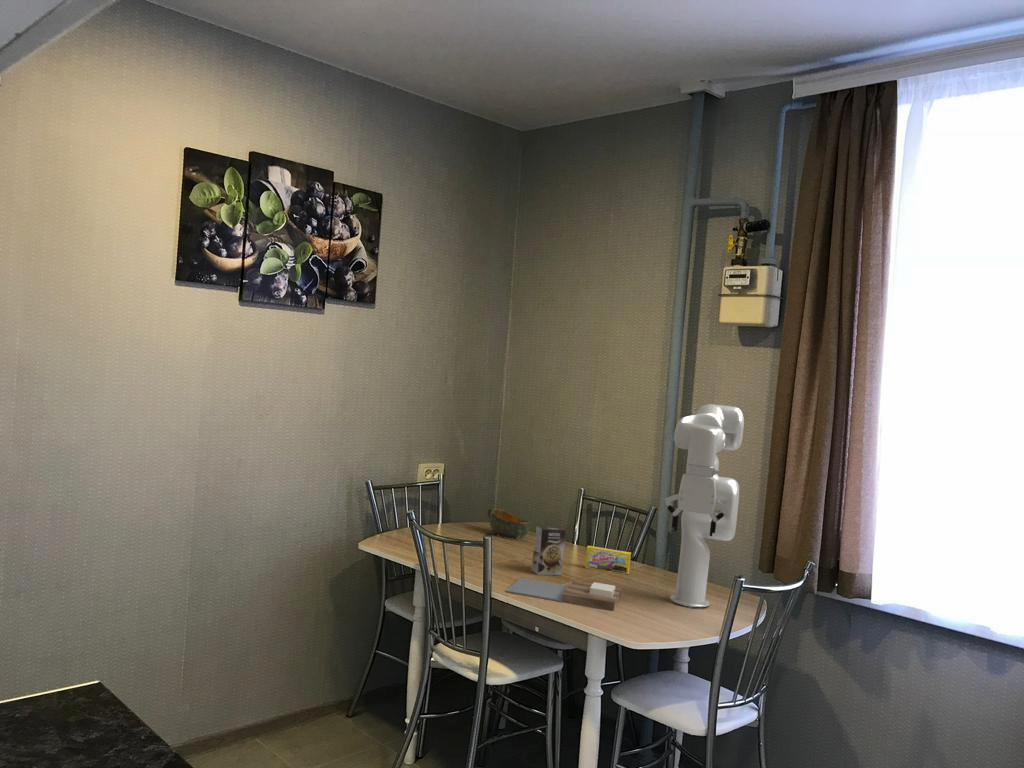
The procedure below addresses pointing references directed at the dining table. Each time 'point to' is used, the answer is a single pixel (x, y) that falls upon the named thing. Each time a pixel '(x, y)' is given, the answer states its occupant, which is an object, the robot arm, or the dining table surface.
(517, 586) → the mat
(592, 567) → the candy box
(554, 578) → the dining table surface
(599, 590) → the tile
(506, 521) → the green gourd bowl
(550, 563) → the cookie box
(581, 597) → the board
